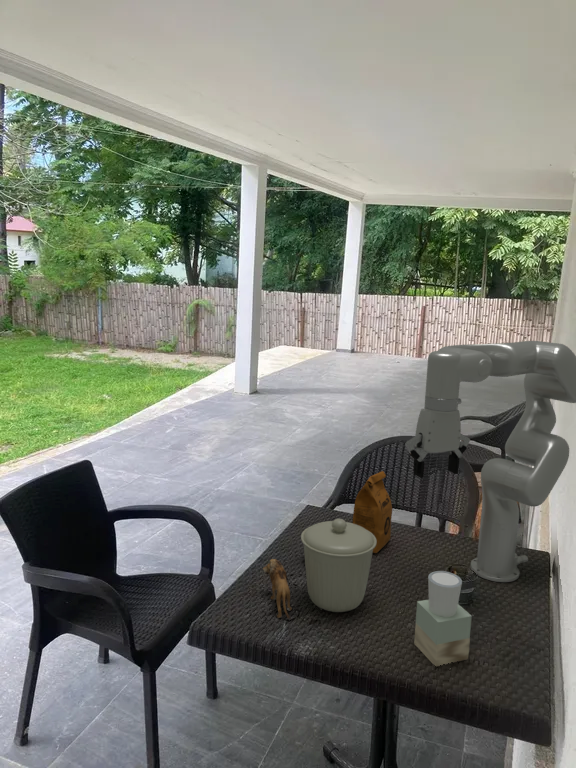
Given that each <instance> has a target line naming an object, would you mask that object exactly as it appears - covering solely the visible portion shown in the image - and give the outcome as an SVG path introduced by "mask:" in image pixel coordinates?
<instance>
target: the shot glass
mask: <svg viewBox="0 0 576 768" xmlns="http://www.w3.org/2000/svg"><path fill="white" fill-rule="evenodd" d="M427 581H428V583H427V584H428V585H427V586H428V600H429V609H430V611H431V612H432V613H434V614H436V615H438V616H442V617H451V616H454V615H455V614H456V611H457V606H458V604H459V601H460V596H461V595H460V594H461V590H462V589H461V588H462V585H463V580H462V578H461V577H460V576H459V575H457V574H455V573H452V572H450V571H445V570H435V571H433V572H430V573H429V574H428V577H427Z"/></svg>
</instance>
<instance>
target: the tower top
mask: <svg viewBox="0 0 576 768" xmlns="http://www.w3.org/2000/svg"><path fill="white" fill-rule="evenodd" d="M415 611H416V614H415V625H416V624H417V625H418V626H419V627H420V628H421V629H422V630H423V631H424V632H425V633H426V634H427V635H428V636H429V637H430V639H431V640H432V641H433V642H434V643H435V644H436V645H438V644H443V643H448V642H453V641H457V640H462V639H467V638H470V639H471V637H470V636H471V628H472V617H473V616H472V615H471V614H470V613H469V612H468V611H467V610H466V609H465V608H463V607H462V606H461V605H460V604H459V603H458V606H457V611H456V614H455V615H454V616H451V617H442V616H438V615H436V614H434V613H432V612H431V611H430V609H429V599H424V600H418V601H416V610H415Z"/></svg>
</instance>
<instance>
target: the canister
mask: <svg viewBox="0 0 576 768" xmlns="http://www.w3.org/2000/svg"><path fill="white" fill-rule="evenodd" d="M300 539H301V542H302V544H303V551H304V553H303V554H304V564H305V566H304V567H305V576H306V577H305V578H306V584H307V585H306V586H307V593H308V596H309V599H310V600H311V601H312V603H313V604H314V605H315V606H317V607H318V608H319V609H321V610H324V611H327V612H332V613H345V612H349V611H352V610H355V609H357V608H358V607H359V606H360V605H361V603H362V602H363V600H364V598H365V594H366V589H367V585H368V580H369V574H370V569H371V563H372V558H373V554H374V553H373V549H374V548H375V546H376V544H377V540H376V538H375V536H374V535H373V534H372V533H371V532H370V531H368V530H366V529H365V528H363V527H361V526H359V525H356V524H353V522H348V521H346V520H344V519H343V518H335V519H334V520H327V521H322V522H318V523H315V524H312V525H310V526H308V527H306V528H305V529H304V530H303V531H302V533H300Z"/></svg>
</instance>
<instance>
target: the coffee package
mask: <svg viewBox="0 0 576 768" xmlns="http://www.w3.org/2000/svg"><path fill="white" fill-rule="evenodd" d="M385 478H386V473H385V471H383V470H382V471H379V472H377V473H375V474H373V475H370V476H369V477H368V479H367V480H366V482H365V484H364V485H363V486H362V488H361V489H360V490H359V491H358V493H357V495H356V497H355V501H354V506H353V511H352V513H353V515H352V523H353V524H356V525H359V526H361V527H363V528H365V529H366V530H368V531H370V532H371V533H372V534H373V535H374V536H375V538H376V540H377V544H376V546H375V548H374V549H373V553H372V554H378V552H379V551H380V550H382V548H384V547H385V546H386V545H387V543H388V542H389V541H390V540H391V536H392V535H391V532H392V516H393V506H392V500H391V497H390V494H389V493H388V491H387V489H386V488H385V485H384V479H385Z"/></svg>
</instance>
